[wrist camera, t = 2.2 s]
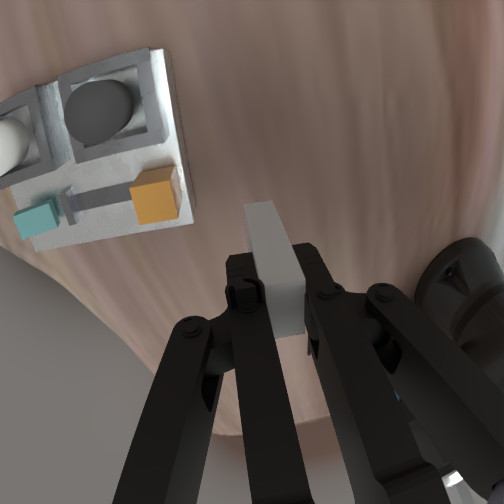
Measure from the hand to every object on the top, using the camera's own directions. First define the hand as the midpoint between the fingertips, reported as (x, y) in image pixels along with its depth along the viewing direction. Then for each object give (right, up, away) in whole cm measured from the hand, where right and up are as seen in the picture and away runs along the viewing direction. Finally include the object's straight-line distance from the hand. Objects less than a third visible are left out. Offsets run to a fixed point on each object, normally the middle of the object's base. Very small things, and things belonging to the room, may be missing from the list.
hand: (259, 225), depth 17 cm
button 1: (-19, +7, +1) cm, 20 cm away
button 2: (-10, +9, +2) cm, 13 cm away
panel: (-15, +8, +10) cm, 20 cm away
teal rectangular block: (-20, +2, +7) cm, 21 cm away
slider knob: (-8, +4, +8) cm, 12 cm away
